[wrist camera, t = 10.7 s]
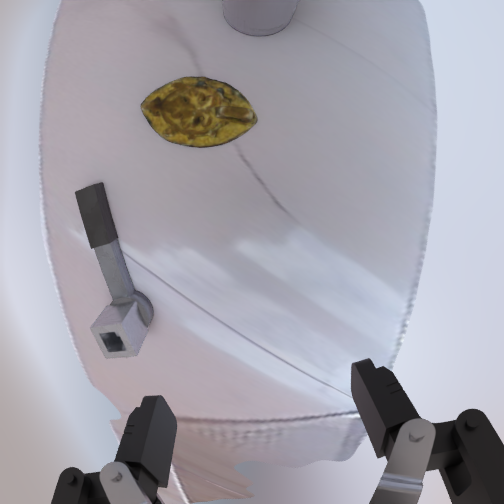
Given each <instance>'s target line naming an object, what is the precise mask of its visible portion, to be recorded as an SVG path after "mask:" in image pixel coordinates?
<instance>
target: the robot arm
mask: <svg viewBox="0 0 504 504" xmlns="http://www.w3.org/2000/svg"><path fill="white" fill-rule="evenodd" d="M298 2H299V0H222V3H223V12H224V17H225V19H226V21H227V22H228V23H229V24H230V25H231V26H232V27H233V28H234V29H236V30H237V31H240V32H242V33H245V34H248V35H254V36H266V35H271V34H274V33H277V32H279V31H281V30H282V29H284V28H285V27H286V26H287V25H288V24H289V22H290V20H291V18H292V16H293V13H294V11H295V8H296V6H297V4H298ZM351 392H352V396H353V400H354V402H355V404H356V407H357V409H358V412H359V414H360V416H361V419H362V421H363V424H364V426H365V428H366V431H367V433H368V436H369V438H370V441H371V443H372V445H373V448H374V451H375V453H376V456H377V458H381V457H383V456H386V459H387V461H388V463H387V465H386V468H385V470H384V473H383V475H382V477H381V480H380V482H379V484H378V486H377V488H376V490H375V493H374V494H373V497H372V499H371V501H370V503H369V504H417V502H418V500H419V497H420V495H421V492H422V488H423V484H422V481H423V478H424V475H425V472H426V471H430V470H436V469H439V472H440V474H441V476H442V479H443V481H444V484H445V486H446V489H447V491H448V494H449V497H450V499H451V502H452V504H504V445H503V443H502V441H501V439H500V438H499V436H498V434H497V433H496V431H495V430H494V428H493V426H492V425H491V423H490V421H489V420H488V418H487V417H486V415H485V414H484V413H483V412H482V411H480V410H478V409H468V410H465V411H463V412H462V413H461V414H460V415H459V416H458V418H457V419H456V420H453V421H448V422H443V423H431V422H429V421H428V420H425V419H422V418H421V417H420V416H419V414H418V413H417V411H416V409H415V408H414V406H413V404H412V403H411V401H410V399H409V398H408V396H407V394H406V393H405V391H404V390H403V388H402V386H401V385H400V383H399V382H398V380H397V379H396V377H395V375H394V373H393V372H392V371H390V370H389V369H387V368H386V367H384V366H382V367H379V368H375V366H374V364H373V362H372V361H371V359H369V358H368V359H365V360H362V361H358V362H355V363H352V366H351ZM176 431H177V421H176V418H175V416H174V414H173V412H172V411H171V409H170V407H169V406H168V404H167V402H166V401H165V399H164V398H163V396H161V395H158V396H145V397H144V398H143V400H142V403H141V406H140V407H136V408H135V409H134V411H133V412H132V413H131V414H130V415H129V418H128V421H127V424H126V427H125V430H124V434H123V436H122V439H121V442H120V445H119V448H118V451H117V454H116V458H115V460H114V462H111V463H108V464H107V465H106V466H104V467H103V468H102V470H101V472H96V473H87V474H84V473H83V472H82V471H81V470H79V469H78V468H75V467H70V468H67V469H65V470H64V471H63V472H62V473H61V474H60V477H59V480H58V483H57V486H56V489H55V493H54V496H53V499H52V502H51V504H165V503H164V502H163V501H162V499H161V498H160V496H159V495H158V494H157V490H158V487H164V488H167V486H168V479H169V473H170V466H171V460H172V454H173V448H174V443H175V437H176Z"/></svg>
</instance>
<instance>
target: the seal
mask: <svg viewBox="0 0 504 504" xmlns="http://www.w3.org/2000/svg"><path fill="white" fill-rule="evenodd" d="M141 110H142V112H143V114H144V116H145V117H146V119H147V121H148V123H149V124H150V126H151V127H152V128H153V129H154V130H155V131H156V132H157V133H158V134H159V135H160V136H161V137H162V138H164V139H165V140H167V141H169V142H172V143H176V144H180V145H184V146H189V147H199V148H202V147H212V146H218V145H222V144H225V143H228V142H230V141H232V140H234V139H236V138H238V137H239V136H241V135H243V134H244V133H245V132H247V131H248V130H249V129H250V128H251V127H252V126H253V125H254V124H255V123H256V122H257V117H256V114H255V112H254V110H253V108H252V106H251V105H250V103H249V102H248V100H247V99H246V98H245V97H244V96H243V95H242V94H241V93H240V92H239V91H238V90H236V89H235V88H233V87H232V86H231V85H229V84H227V83H225V82H220V81H217V80H213V79H209V78H206V77H183V78H180V79H177V80H174V81H172V82H169V83H167V84H165V85H164V86H162V87H160V88H158V89H157V90H155V91H154V92H152V93H151V94H150V95H149V96H148V97H147V98H146V99H145V100H144V101H143V102H142V104H141Z"/></svg>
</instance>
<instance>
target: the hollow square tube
mask: <svg viewBox="0 0 504 504" xmlns="http://www.w3.org/2000/svg"><path fill="white" fill-rule="evenodd" d="M90 329H91V331H92V333H93V335H94V337H95V339H96V341H97V343H98V345H99V347H100V349H101V351H102V352H103V354H104V356H105V358H106V359H108V358H121V357H133V356H137V355H138V353H139V350H140V348H141V346H142V344H143V342H144V339H145V337H146V335H147V333H148V329H147V326H146V324H145V322H144V319H143V317H142V314H141V312H140V309H139V307H138V305H137V302H136V301H131V302H125V303H120V304H114V305H108V306H106V307H105V309H104V310H103V311H102V313H101V314H100V315H99V316H98V318H97V319H96V320H95V322H94V323H93V324H92V325H91V327H90ZM117 331H118V333H119V335H120V336H118V337H117V335H116V333H115V332H117Z"/></svg>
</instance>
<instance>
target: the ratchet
mask: <svg viewBox="0 0 504 504" xmlns="http://www.w3.org/2000/svg"><path fill="white" fill-rule="evenodd" d="M75 195H76V199H77V202H78V206H79V210H80V213H81V217H82V220H83V224H84V227H85V231H86V234H87V237H88V240H89V243H90V246H91V249H92V248H94V250H95V253H96V256H97V259H98V261H99V264H100V267H101V270H102V273H103V275H104V278H105V281H106V283H107V286H108V288H109V291H110V293H111V296H112V298H113V302H112V303H111V304H110V305H114V304H120V303H125V302H131V301H136V302H137V305H138V307H139V309H140V312H141V314H142V317H143V319H144V322H145V324H146V326H147V328H148V326H149V323H150V321H151V319H152V317H153V307H152V304H151V302H150V301H149V299H148V298H147V297H146V296H145V295H144V294H142V293H140V292H138V291H136V290H135V289H134V286H133V284H132V281H131V278H130V276H129V273H128V270H127V267H126V264H125V261H124V258H123V255H122V252H121V249H120V246H119V243H118V240H117V238H118V236H117V233H116V229H115V226H114V222H113V219H112V216H111V212H110V208H109V205H108V201H107V197H106V193H105V189H104V185H103V183H99V184H94V185H91V186H89V187H86V188H84V189H81V190H79V191H76V192H75ZM115 333H116V335H117V337H118V336H120V335H119V333H118V331H117V332H115Z"/></svg>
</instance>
